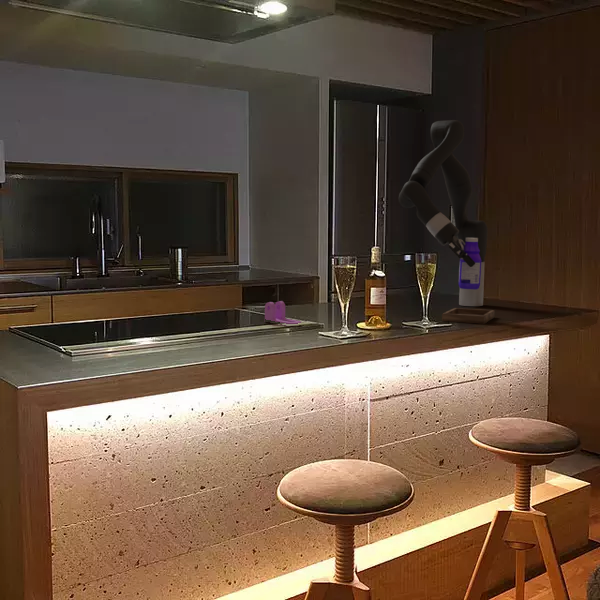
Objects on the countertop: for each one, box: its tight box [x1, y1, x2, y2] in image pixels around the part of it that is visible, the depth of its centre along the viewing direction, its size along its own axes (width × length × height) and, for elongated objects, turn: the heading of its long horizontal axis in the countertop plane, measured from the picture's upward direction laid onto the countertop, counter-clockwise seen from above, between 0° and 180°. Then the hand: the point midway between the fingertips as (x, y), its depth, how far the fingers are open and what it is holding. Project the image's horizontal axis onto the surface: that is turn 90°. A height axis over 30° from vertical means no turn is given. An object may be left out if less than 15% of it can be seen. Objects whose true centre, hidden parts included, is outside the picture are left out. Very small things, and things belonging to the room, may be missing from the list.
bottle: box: [458, 238, 482, 289], centre depth 265 cm, size 7×6×17 cm
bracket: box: [264, 300, 302, 324], centre depth 250 cm, size 13×6×7 cm, turn 43°
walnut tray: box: [441, 307, 495, 325], centre depth 267 cm, size 18×14×2 cm
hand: (475, 264), depth 264 cm, fingers closed on bottle, 6 cm apart
